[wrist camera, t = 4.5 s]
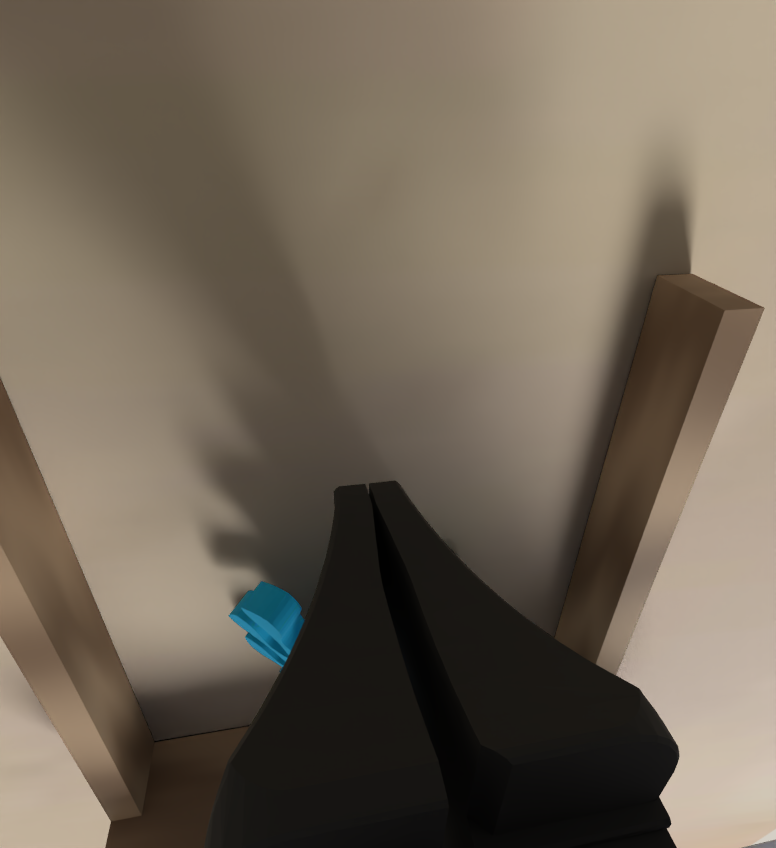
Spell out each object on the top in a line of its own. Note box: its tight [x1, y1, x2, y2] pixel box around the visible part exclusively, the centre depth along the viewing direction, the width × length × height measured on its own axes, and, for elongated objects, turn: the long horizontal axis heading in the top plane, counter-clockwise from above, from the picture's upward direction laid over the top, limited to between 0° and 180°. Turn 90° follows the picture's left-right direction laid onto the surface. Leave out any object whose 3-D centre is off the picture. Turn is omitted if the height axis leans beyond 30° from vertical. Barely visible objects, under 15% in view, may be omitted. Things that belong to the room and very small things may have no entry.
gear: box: [229, 581, 305, 672], centre depth 17 cm, size 11×6×10 cm
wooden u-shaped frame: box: [0, 274, 764, 848], centre depth 16 cm, size 19×18×5 cm
